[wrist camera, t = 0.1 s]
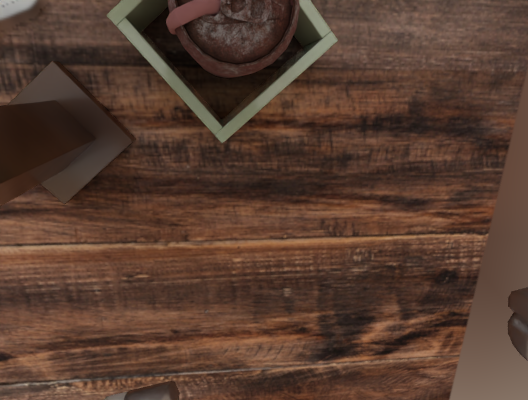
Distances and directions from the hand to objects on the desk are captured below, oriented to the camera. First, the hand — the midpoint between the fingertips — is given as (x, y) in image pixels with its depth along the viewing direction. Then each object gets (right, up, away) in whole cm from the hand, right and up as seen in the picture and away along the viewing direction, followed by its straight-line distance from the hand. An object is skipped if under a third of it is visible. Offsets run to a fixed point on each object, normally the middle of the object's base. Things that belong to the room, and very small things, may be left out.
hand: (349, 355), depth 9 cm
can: (-5, +17, +21) cm, 27 cm away
